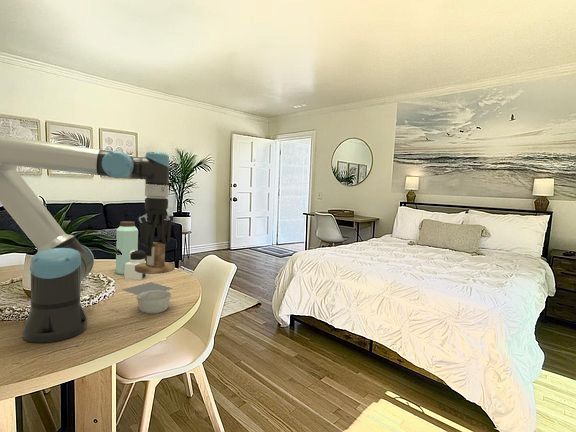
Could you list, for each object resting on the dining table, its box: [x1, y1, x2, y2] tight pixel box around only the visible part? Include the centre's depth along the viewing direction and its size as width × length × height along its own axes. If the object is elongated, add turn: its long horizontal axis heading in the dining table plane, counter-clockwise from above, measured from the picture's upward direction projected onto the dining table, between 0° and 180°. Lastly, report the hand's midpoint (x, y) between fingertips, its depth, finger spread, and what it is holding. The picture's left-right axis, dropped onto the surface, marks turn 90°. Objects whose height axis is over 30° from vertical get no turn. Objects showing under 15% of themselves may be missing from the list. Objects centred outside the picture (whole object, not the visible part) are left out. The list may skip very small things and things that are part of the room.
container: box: [124, 249, 150, 281], centre depth 151 cm, size 8×8×13 cm
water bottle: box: [115, 221, 139, 276], centre depth 158 cm, size 10×10×25 cm
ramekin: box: [136, 290, 172, 315], centre depth 116 cm, size 11×11×5 cm
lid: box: [135, 241, 176, 275], centre depth 114 cm, size 13×13×9 cm
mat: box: [121, 281, 173, 296], centre depth 135 cm, size 14×14×1 cm
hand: (155, 263), depth 115 cm, fingers closed on lid, 3 cm apart
